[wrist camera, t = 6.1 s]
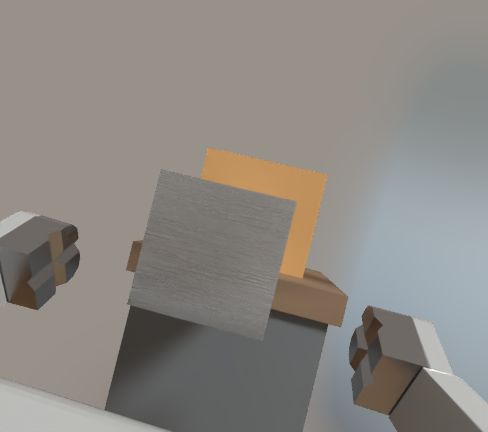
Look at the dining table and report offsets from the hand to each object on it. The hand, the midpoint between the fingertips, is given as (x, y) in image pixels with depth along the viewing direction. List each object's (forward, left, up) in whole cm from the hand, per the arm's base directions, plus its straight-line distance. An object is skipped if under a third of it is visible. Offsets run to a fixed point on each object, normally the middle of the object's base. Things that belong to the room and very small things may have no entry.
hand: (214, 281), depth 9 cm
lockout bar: (+4, +6, -1) cm, 7 cm away
